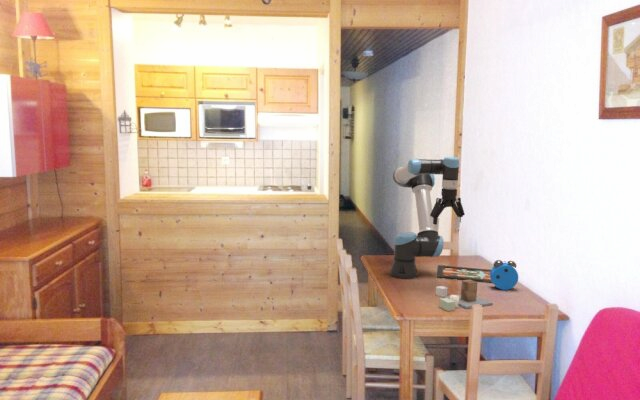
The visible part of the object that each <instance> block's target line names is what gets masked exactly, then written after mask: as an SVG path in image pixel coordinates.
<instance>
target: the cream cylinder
mask: <svg viewBox="0 0 640 400" xmlns="http://www.w3.org/2000/svg"><path fill="white" fill-rule="evenodd" d="M458 295H459V294H450V295H449V296H450V300H452V301H455V309H458V308H459V307H460V306H459V296H458Z"/></svg>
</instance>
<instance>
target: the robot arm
mask: <svg viewBox="0 0 640 400" xmlns="http://www.w3.org/2000/svg"><path fill="white" fill-rule="evenodd" d="M459 169H460V159H459V157H453V156H444V158H443V159H425V158H424V159H419V158H414V159H413V158H411V159H409V160H408V162H407V165H405V166H400V167H398V168H396V169H395V170H394V172H393V173H392V179H393V182H394V183H395V184H396V185H398V186H399V187H402V188H408V189H409V188H411V192H412V193H413V194H414V198H415V203H416V204H415V206H416V213H417V221H418V227H419V229H418V230H419V231H418V232H417V233H415V232H401V233H398V234H396V236H395V237H394V242H393V243H394V248H393V249H394V250H393V262H392V264H391V267H390V270H389V275H390V276H391V277H393V278H394V277H395V278H399V279H407V280H409V279H416V278H417V277H418V274H419V273H418V269H417V265H416V258H424V257H425V258H438V257H440V255H441V254H442V253H443V249H444V238H443V236H441V235H440V234H439V226H440V225H439V224H440V218H439V217H440V215H441V214H442V213H443V211H444V210H445V209H446V208H452V210H453V211H454V213H455V214H456V215H455V219H454V230H457V231H459V230H460V225H461V223H462V221H461V220H462V218H463V217H464V216H465V211H464V208H463V204H462V198H461V197H459V196H458V189H457V188H458V181H459V171H460V170H459ZM435 175H442V180H441V181H442V182H441V198H439V197H436V199H435V203H434V205H433V204H432V198H431V191H432V189H433V188H434V187H435V180H436V179H435ZM457 196H458V197H457ZM432 205H433V206H432Z"/></svg>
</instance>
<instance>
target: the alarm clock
mask: <svg viewBox="0 0 640 400" xmlns="http://www.w3.org/2000/svg"><path fill="white" fill-rule="evenodd" d="M515 268H517V263H516V262H515V261H514V260H508V261H502V260H501V259H497V260H494V262H493V267H492V268H491V269H490V270H491V271H490V279H491V281H492V282H493V283H492V284H493V285H494V288H497V289H500V290H503V291H508V290H511V289H513V288H514V287H515V286H516V285H517V284H518V281H519V273H518V271H517V269H515Z"/></svg>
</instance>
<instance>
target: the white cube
mask: <svg viewBox="0 0 640 400" xmlns="http://www.w3.org/2000/svg"><path fill="white" fill-rule="evenodd" d="M435 296H438V297H440V298H441V297H442V298H443V297H445V296H448V287H446V286H444V285H440V286H436V287H435Z"/></svg>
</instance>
